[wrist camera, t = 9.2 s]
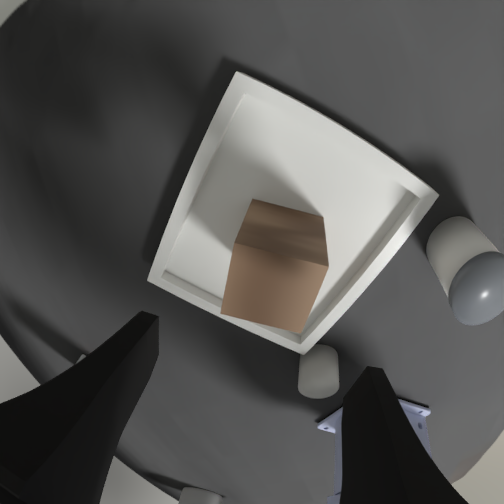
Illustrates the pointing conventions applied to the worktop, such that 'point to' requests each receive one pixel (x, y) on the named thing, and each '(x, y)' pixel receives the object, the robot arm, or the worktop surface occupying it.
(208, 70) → the worktop surface
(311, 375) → the rubber stopper
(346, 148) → the tray
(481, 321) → the sample jar
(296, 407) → the worktop surface
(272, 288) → the walnut block
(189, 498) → the mug
